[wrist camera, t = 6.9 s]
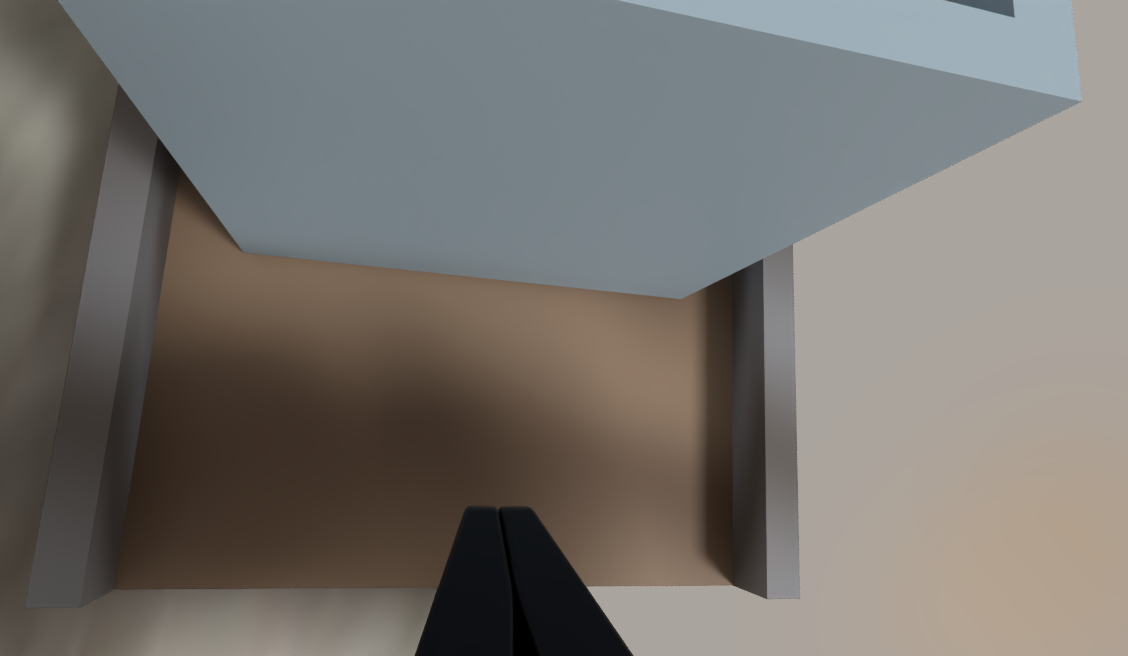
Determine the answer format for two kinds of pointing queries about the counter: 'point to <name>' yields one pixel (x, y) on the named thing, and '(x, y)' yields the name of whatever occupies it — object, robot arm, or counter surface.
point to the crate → (573, 122)
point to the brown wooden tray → (400, 414)
